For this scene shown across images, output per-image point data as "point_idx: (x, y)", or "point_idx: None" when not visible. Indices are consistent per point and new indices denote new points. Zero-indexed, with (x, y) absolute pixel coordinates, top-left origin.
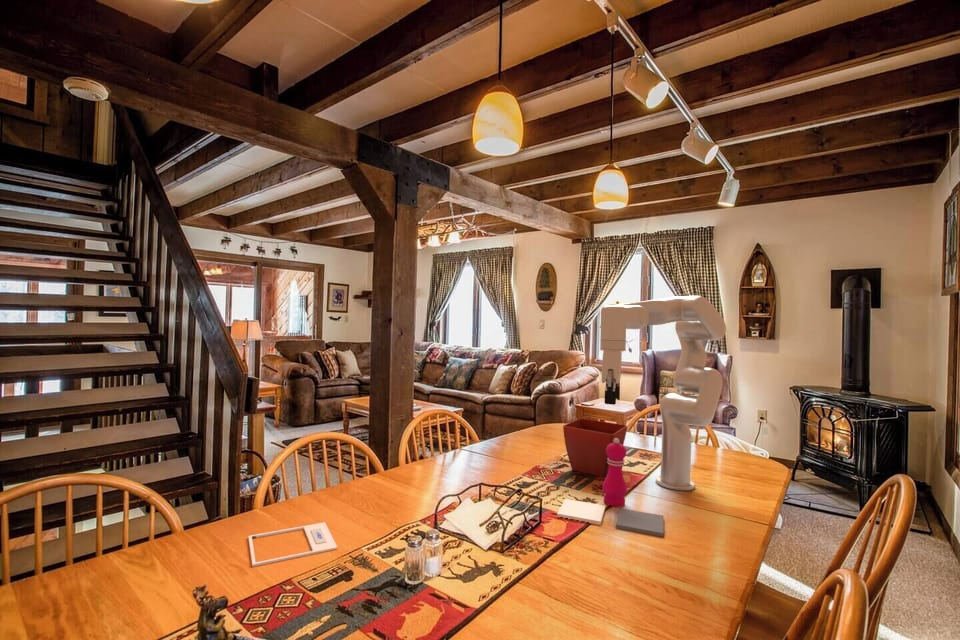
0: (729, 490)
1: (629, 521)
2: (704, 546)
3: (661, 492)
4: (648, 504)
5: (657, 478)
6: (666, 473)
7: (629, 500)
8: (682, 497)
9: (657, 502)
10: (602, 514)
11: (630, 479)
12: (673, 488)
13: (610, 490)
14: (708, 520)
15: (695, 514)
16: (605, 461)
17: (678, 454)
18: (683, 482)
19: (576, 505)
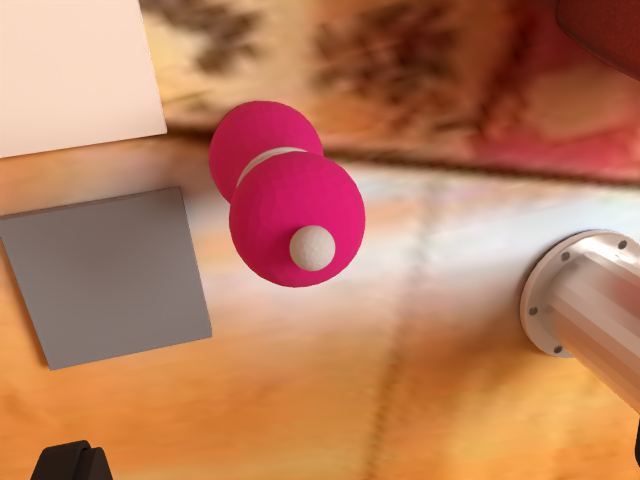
0: (587, 430)
1: (66, 256)
2: None
3: (475, 271)
4: None
5: (595, 240)
6: (578, 295)
7: None
8: (458, 337)
9: (363, 281)
10: (55, 148)
11: (576, 137)
12: (521, 303)
13: (210, 155)
14: (292, 432)
15: (320, 396)
16: (588, 35)
17: (627, 388)
18: (555, 338)
19: (72, 9)
